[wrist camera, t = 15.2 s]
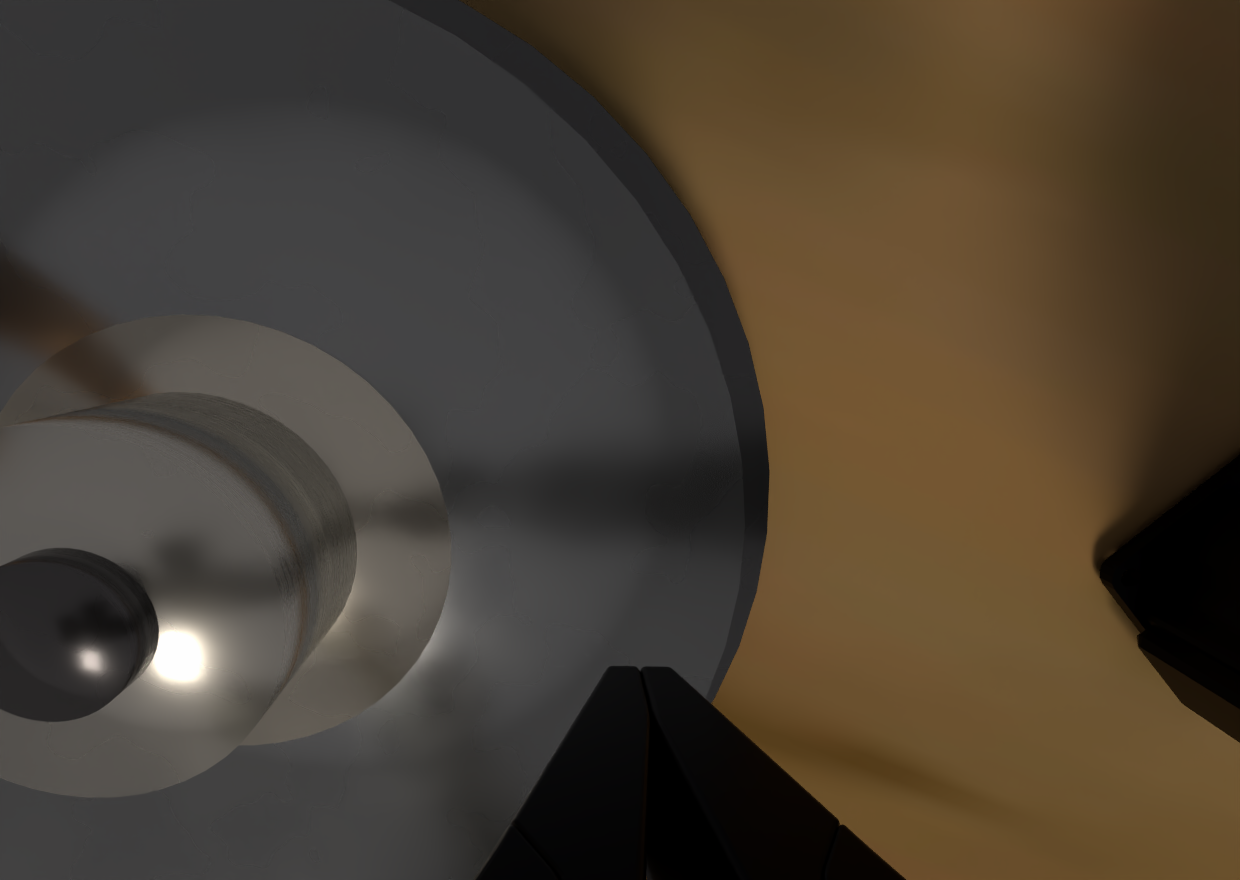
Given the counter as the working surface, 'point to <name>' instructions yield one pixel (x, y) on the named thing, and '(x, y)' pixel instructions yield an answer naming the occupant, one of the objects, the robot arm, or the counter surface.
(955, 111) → the counter surface
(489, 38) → the turntable base
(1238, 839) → the counter surface
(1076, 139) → the counter surface
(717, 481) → the turntable
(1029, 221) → the counter surface
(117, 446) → the cover
